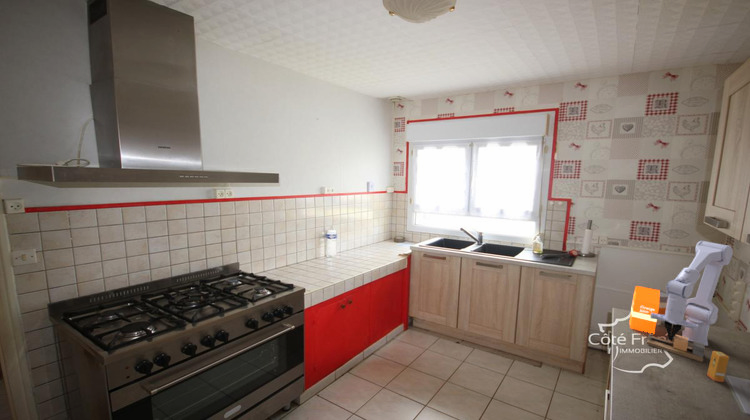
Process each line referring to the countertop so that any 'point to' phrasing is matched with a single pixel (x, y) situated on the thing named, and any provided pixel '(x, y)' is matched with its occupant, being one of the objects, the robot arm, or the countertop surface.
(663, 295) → the reusable coffee cup
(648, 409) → the countertop surface
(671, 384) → the countertop surface
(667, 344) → the cord board
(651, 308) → the orange juice
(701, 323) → the robot arm
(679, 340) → the tan small block
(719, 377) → the supplement box
